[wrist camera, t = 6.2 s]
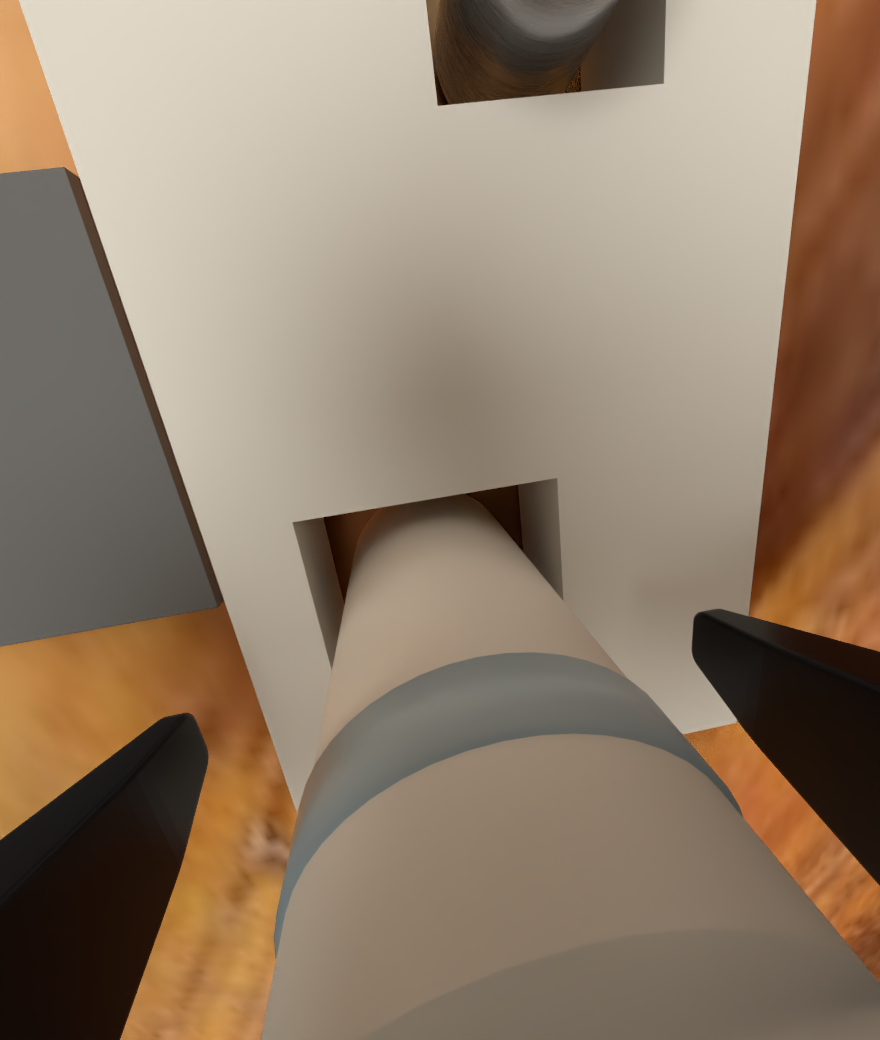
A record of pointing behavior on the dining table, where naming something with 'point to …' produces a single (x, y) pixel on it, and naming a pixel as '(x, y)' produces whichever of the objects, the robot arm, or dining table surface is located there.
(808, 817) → the dining table surface
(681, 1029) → the cylinder
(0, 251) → the mat
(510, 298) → the housing
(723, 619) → the robot arm
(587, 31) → the copper capped cylinder
